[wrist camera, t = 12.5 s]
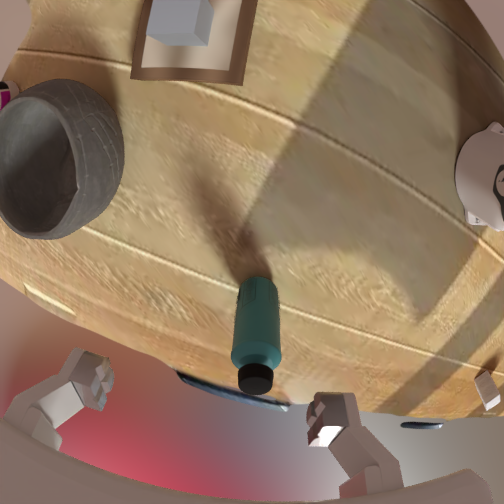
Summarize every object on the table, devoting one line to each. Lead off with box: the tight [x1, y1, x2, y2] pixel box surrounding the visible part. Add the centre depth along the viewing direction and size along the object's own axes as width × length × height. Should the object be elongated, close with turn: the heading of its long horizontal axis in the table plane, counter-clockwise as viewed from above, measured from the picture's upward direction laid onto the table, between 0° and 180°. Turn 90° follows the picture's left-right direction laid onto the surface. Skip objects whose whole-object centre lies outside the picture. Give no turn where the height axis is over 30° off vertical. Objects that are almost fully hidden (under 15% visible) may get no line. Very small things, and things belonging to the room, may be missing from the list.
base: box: [130, 0, 258, 86], centre depth 28 cm, size 14×14×4 cm
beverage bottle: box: [231, 277, 281, 395], centre depth 39 cm, size 6×7×20 cm
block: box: [146, 0, 214, 46], centre depth 23 cm, size 5×5×7 cm
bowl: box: [0, 79, 124, 240], centre depth 31 cm, size 21×21×15 cm
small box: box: [474, 370, 500, 411], centre depth 58 cm, size 8×6×10 cm
